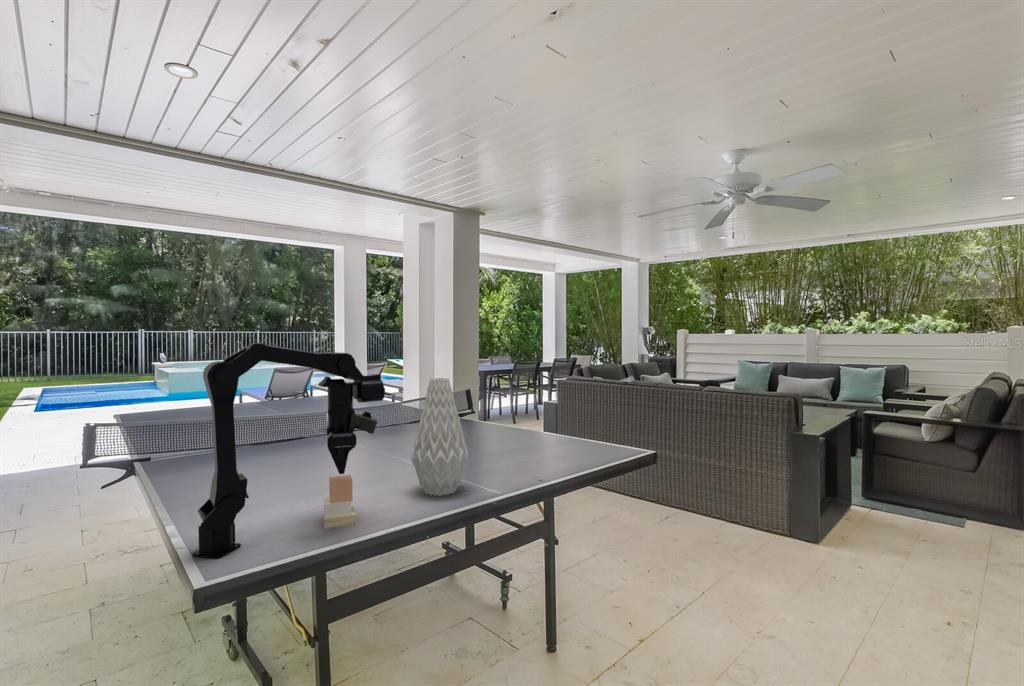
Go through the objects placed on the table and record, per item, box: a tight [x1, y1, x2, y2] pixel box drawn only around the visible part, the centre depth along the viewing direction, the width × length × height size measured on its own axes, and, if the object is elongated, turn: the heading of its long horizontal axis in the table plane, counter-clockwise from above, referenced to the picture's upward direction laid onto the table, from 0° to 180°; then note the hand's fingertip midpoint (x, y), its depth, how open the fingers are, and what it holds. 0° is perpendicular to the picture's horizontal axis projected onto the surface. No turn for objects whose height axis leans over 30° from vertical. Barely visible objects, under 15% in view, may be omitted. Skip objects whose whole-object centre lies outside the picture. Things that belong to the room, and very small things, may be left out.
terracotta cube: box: [328, 474, 353, 504], centre depth 123 cm, size 5×5×5 cm
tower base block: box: [323, 505, 357, 530], centre depth 123 cm, size 7×7×3 cm
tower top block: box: [323, 496, 352, 518], centre depth 123 cm, size 6×6×3 cm
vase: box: [410, 377, 470, 497], centre depth 147 cm, size 17×17×33 cm
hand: (341, 469), depth 122 cm, fingers open, 9 cm apart
